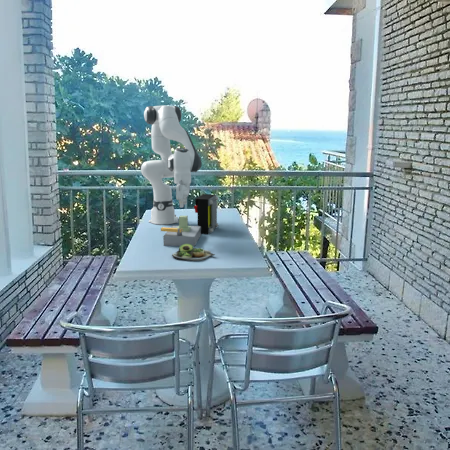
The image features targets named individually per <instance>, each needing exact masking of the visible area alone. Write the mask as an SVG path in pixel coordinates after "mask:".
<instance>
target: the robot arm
mask: <svg viewBox="0 0 450 450" xmlns="http://www.w3.org/2000/svg"><path fill="white" fill-rule="evenodd" d="M182 115H183V114H182V110H181V108H180V107H179V106H176V105H168V104H167V105H164V104H163V105H162V104H161V105H155V106H152V105H149V106H146V108H144V111H143V117H144V121H145V123H146V124H147V125H151V130H150V131H151V132H150V133H151V134H150V137H151V151H153V152H154V153H155V154H157V155H159V156H160V158H161V159H156V160H155V159H154V160H153V159H152V160H148V161H147V160H146V161H144V162H143V163H142V164H141V167H140V172H141V175H142V176H143V178H146V179H147V181H148V182H149V183H150V184H151V187H152V191H153V202H152V204H153V205H152V206H153V207H152V208H151V210H150V219H149V220H148V223H151V224H153V225H172V224H179V216H177V214H175V213H176V212H175V207H174V202H173V198H172V197H173V196H172V194H173V193H172V187H171V185H169V184H167V183H165V182H163V179H164V178H165V179H166V178H173V183H174V184H176V187H175V190H176V192H175V195H176V196H175V198H176V200H177V201H178V203H179V208H184V207H185V205H187V203H188V201H187V199H188V196H189V195H190V191H191V190H190V189H191V184H192V173H197V172H198V171H200V170H201V168H202V165H203V163H202V158H201V156H200V155H199V153H198V151H197V149H196V147H195V144H194V142H193V141H192V138H191V136H190V134H189V132H188V131H187V130H186V129H184V128H183V127H182V125H181V124H180V122H181V120H182ZM171 141H175V142H177V143H180V144H181V145H183V147H184V148H183V147H179V148H175V149H174V151H173V152H172V148H171Z"/></svg>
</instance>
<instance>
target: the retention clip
mask: <svg viewBox="0 0 450 450" xmlns="http://www.w3.org/2000/svg"><path fill="white" fill-rule="evenodd" d="M182 231H183V229H182V228H171V227H163V226H162V227H161V228H160V232H165V233H166V232H177V235H178V236H181V235H182Z"/></svg>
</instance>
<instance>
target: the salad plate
mask: <svg viewBox="0 0 450 450" xmlns="http://www.w3.org/2000/svg"><path fill="white" fill-rule="evenodd" d="M215 255H216V254H215V253H212V252H211V251H210V250H209V249H208V250H207V249H204V248H201V247H199V248H197V247H195V246H192V245H191V244H183V245H181V246H179V247H178V250H177V251H175V252H174V253H172V255H171V257H172V258H173V259H175V260H179V261H188V262H189V261H191V262H192V261H194V262H195V261H196V262H197V261H198V262H199V261H203V260H206V259H208V258H210V257H211V256H212V257H213V256H215Z"/></svg>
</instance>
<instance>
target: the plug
mask: <svg viewBox="0 0 450 450" xmlns="http://www.w3.org/2000/svg"><path fill="white" fill-rule="evenodd" d="M188 218H189V217H188V215H179V216H178V225H177V226H178V227H177V228H182V229H183V231H182V232H189V231H190V230H191V226H192V225H189V219H188Z"/></svg>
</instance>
